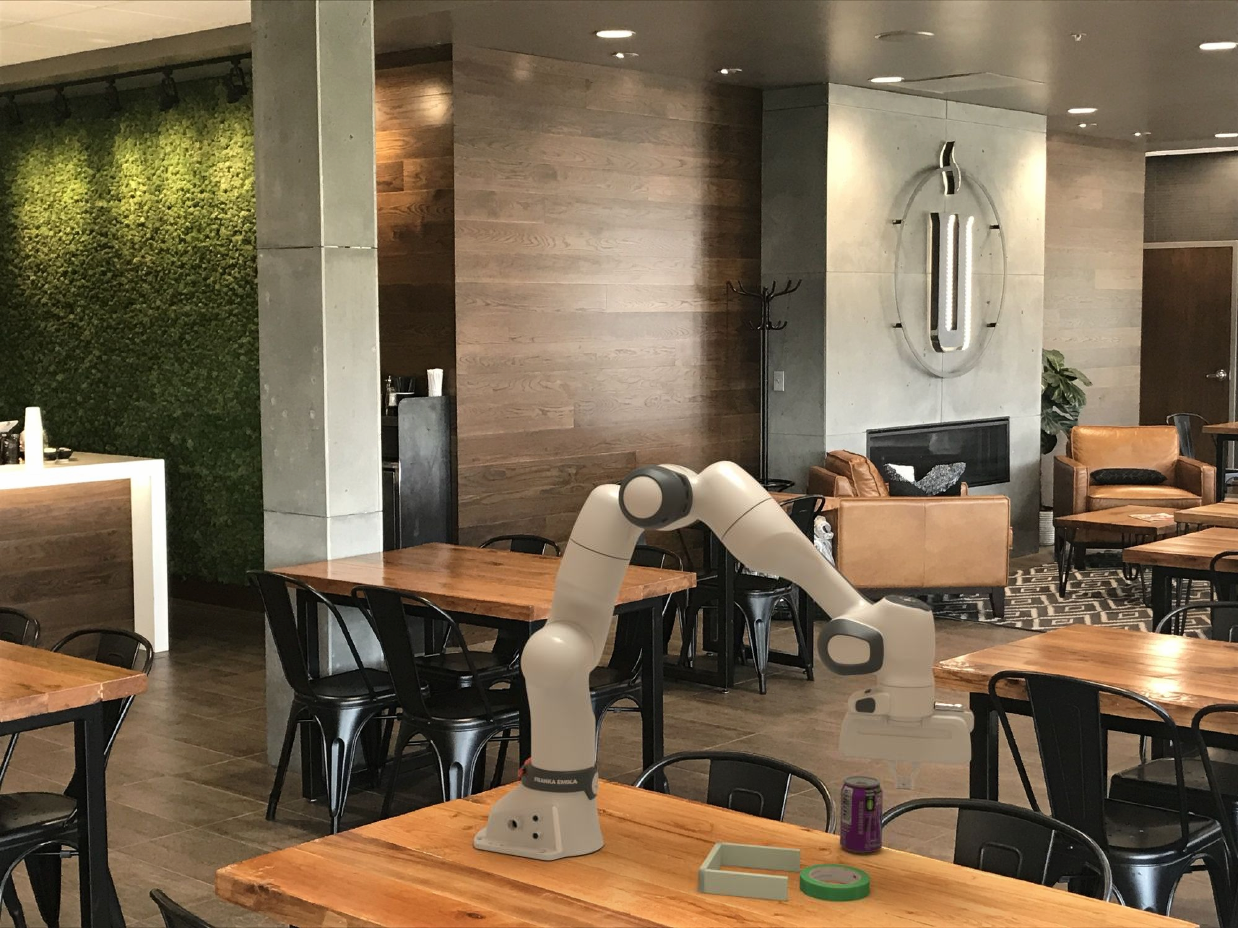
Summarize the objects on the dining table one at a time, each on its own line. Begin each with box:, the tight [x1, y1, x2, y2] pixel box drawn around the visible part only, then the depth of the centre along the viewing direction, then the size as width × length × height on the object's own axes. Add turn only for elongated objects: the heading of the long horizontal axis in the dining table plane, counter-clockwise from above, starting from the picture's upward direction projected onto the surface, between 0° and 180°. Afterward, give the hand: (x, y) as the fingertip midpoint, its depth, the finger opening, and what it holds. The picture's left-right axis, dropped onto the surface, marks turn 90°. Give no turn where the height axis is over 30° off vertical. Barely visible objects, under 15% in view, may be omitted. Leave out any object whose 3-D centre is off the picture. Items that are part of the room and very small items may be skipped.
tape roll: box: [799, 863, 871, 903], centre depth 231 cm, size 11×11×3 cm
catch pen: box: [697, 841, 802, 902], centre depth 234 cm, size 14×15×4 cm
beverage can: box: [839, 775, 884, 855], centre depth 251 cm, size 7×7×12 cm
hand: (904, 788), depth 227 cm, fingers closed
